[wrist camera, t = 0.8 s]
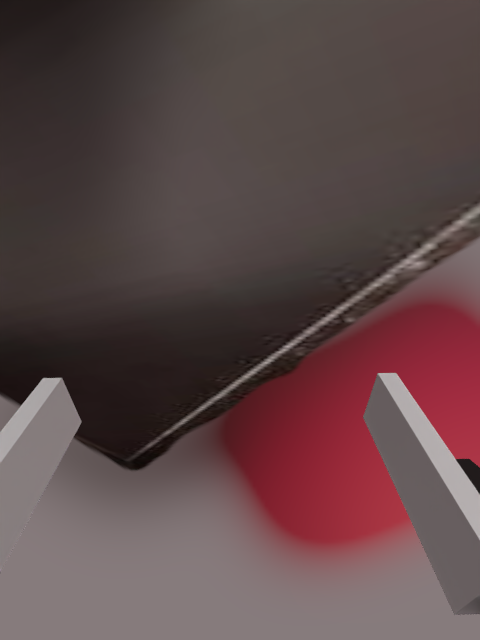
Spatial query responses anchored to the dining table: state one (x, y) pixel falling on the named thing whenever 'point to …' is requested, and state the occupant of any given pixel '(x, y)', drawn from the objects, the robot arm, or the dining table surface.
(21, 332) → the dining table surface
